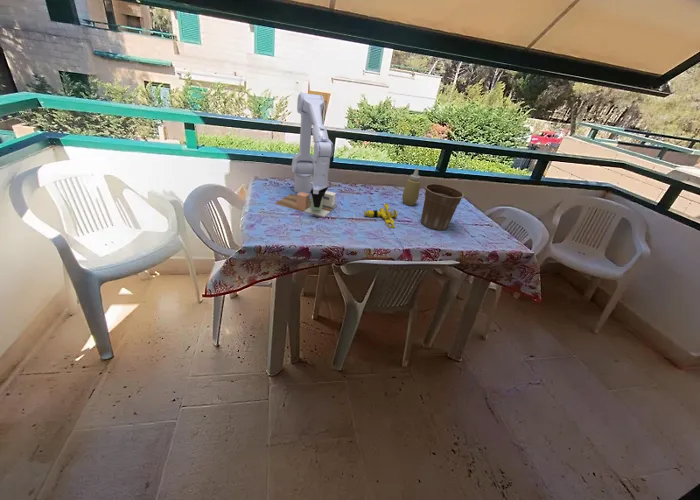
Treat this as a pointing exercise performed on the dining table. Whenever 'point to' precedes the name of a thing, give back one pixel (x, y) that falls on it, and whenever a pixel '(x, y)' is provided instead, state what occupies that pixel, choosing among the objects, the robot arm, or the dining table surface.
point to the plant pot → (439, 205)
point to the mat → (317, 212)
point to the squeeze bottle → (412, 189)
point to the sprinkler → (383, 215)
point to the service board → (294, 203)
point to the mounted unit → (328, 200)
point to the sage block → (316, 207)
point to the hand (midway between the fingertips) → (317, 205)
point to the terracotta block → (303, 200)
